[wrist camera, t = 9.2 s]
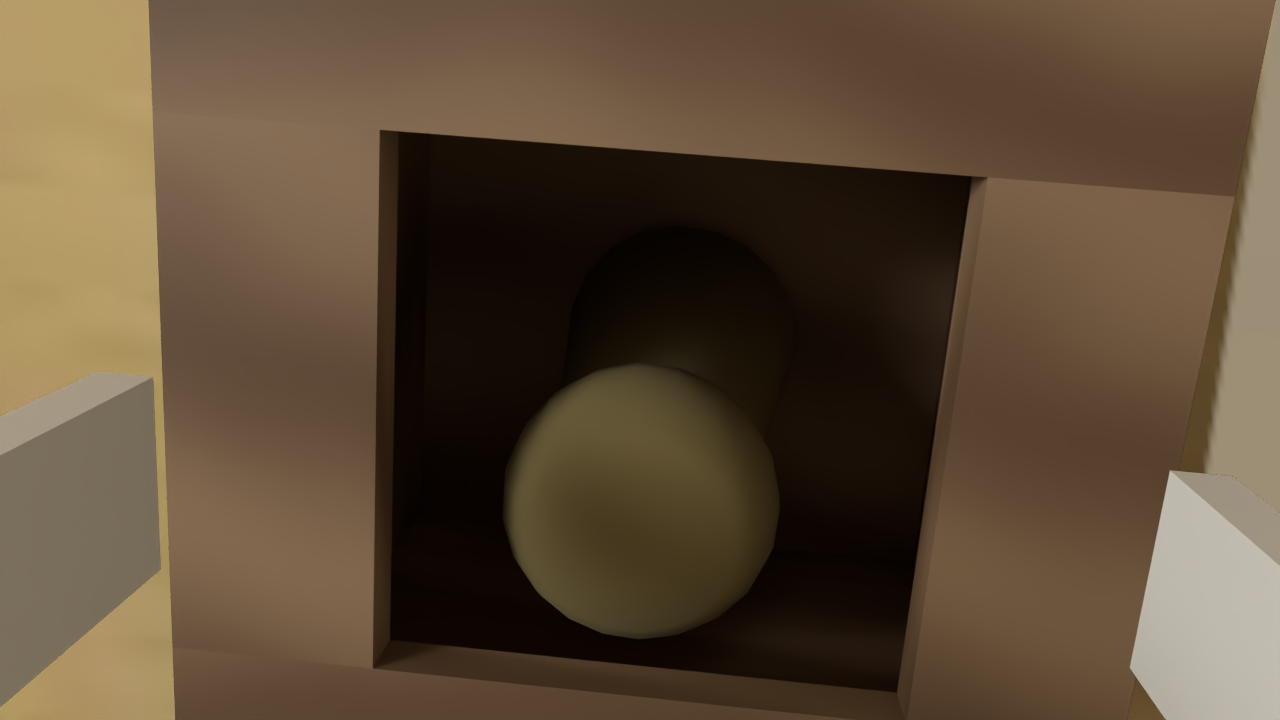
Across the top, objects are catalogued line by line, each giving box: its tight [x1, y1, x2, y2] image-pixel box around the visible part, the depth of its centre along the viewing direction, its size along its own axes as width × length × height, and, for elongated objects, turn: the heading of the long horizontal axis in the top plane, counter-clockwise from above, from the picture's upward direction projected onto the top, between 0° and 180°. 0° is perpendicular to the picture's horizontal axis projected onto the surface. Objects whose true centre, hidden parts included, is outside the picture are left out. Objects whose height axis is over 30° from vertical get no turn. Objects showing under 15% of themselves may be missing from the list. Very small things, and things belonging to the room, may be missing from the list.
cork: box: [503, 226, 796, 639], centre depth 24 cm, size 6×6×11 cm
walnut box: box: [149, 0, 1276, 720], centre depth 24 cm, size 16×16×13 cm
